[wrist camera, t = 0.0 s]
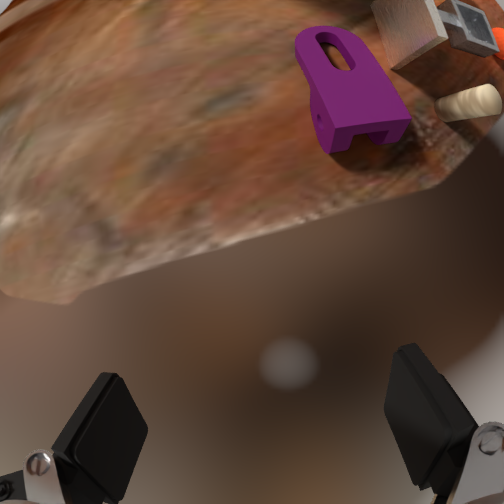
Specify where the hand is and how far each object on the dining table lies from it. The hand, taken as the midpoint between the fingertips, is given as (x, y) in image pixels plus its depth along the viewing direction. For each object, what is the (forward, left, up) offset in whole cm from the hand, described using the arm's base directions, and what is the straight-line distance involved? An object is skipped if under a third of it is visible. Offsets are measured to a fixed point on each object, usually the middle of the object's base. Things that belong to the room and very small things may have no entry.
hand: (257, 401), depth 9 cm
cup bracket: (-27, +30, -31) cm, 51 cm away
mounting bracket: (-18, +13, -32) cm, 39 cm away
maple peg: (-15, +31, -31) cm, 46 cm away
